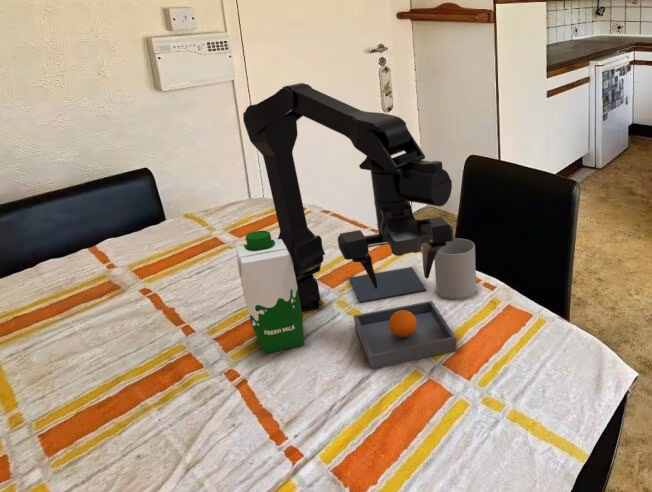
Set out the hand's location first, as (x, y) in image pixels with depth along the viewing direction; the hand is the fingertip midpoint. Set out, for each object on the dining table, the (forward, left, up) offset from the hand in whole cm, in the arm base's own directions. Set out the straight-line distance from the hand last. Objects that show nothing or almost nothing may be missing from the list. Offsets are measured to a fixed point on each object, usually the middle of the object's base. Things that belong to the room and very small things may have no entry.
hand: (401, 282), depth 109 cm
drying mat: (+2, +23, -11) cm, 25 cm away
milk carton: (-22, +8, -12) cm, 26 cm away
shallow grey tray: (-1, 0, -11) cm, 11 cm away
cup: (+14, +15, -11) cm, 24 cm away
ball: (-1, 0, -8) cm, 8 cm away
